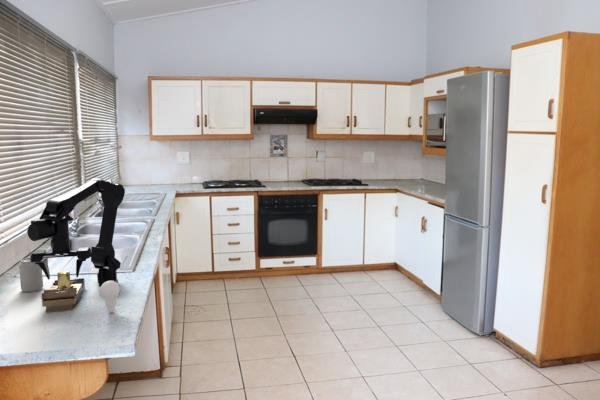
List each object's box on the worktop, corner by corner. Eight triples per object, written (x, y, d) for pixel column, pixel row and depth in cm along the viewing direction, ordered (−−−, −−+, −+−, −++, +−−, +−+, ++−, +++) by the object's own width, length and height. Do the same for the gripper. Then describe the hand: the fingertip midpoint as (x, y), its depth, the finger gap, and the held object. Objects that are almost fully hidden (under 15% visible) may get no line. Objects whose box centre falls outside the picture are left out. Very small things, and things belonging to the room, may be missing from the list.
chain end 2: (85, 288, 190) (84, 277, 189) (78, 303, 174) (77, 291, 174) (56, 290, 187) (55, 279, 186) (46, 306, 172) (45, 293, 171)
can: (47, 286, 192) (44, 256, 190) (37, 293, 185) (35, 261, 183) (27, 286, 192) (24, 256, 190) (17, 293, 184) (14, 261, 183)
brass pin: (72, 297, 180) (70, 270, 179) (70, 301, 176) (68, 274, 175) (60, 298, 179) (58, 271, 177) (58, 302, 175) (56, 275, 174)
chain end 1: (82, 293, 184) (81, 277, 183) (75, 309, 168) (74, 291, 167) (52, 296, 181) (51, 279, 180) (42, 312, 166) (41, 294, 165)
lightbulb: (98, 312, 166) (96, 280, 164) (116, 307, 170) (114, 276, 168) (106, 317, 162) (104, 285, 160) (124, 312, 166) (122, 281, 164)
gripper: (91, 228, 184) (94, 269, 186) (36, 231, 179) (39, 273, 181) (87, 235, 173) (90, 278, 176) (28, 238, 168) (32, 283, 171)
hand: (63, 278), depth 176 cm, fingers open, 9 cm apart
